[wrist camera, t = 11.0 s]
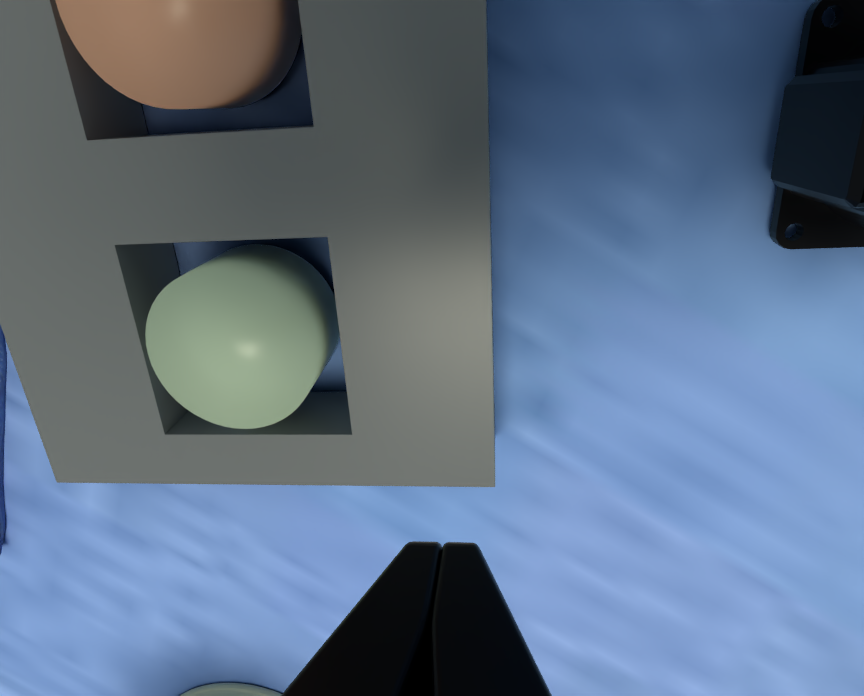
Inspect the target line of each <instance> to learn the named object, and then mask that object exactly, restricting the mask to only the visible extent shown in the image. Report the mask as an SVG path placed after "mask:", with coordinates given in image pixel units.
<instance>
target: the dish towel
mask: <svg viewBox="0 0 864 696" xmlns="http://www.w3.org/2000/svg"><path fill="white" fill-rule="evenodd" d="M6 373H7V352H6V344H5V336H4V333H3V330H2V328H1V325H0V554H1V551H2V544H3V538H4V532H5V504H4V489H3V457H4V433H5V396H6Z"/></svg>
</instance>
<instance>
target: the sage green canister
mask: <svg viewBox="0 0 864 696" xmlns="http://www.w3.org/2000/svg"><path fill="white" fill-rule="evenodd" d="M281 695H282V694H280V693H278V692H275V691H273V690H270V689H266V688H263V687H259V686H255V685H249V684H242V683H216V684H209V685H204V686H200V687H197V688H194V689H191V690H189V691H187V692H185V693H184V694H182V695H180V696H281Z"/></svg>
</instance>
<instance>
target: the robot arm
mask: <svg viewBox="0 0 864 696" xmlns="http://www.w3.org/2000/svg"><path fill="white" fill-rule="evenodd" d="M828 7H829V8H832V9H833V11H834V12H835V19H834V21H833V24H831V25H830V26H829V27H825V26H824V24H823V23H822V15H823V13H824V11H825V10H826V9H827V8H828ZM771 179H772V180H773V182H774V183H775V184H776V185H777V190H776V196H775V202H774V208H773V215H772V221H771V227H770V237H771V238H772V240H773V242H775V243H776V244H778V245H779V246H781V247H783V248H787V249H810V248H841V247H864V0H817V1H816V2H815V3H813V4H812V5H811V7H810V8H809V9H808V11H807V13H806V16H805V18H804V23H803V29H802V35H801V42H800V48H799V54H798V60H797V66H796V72H795V77H794V78H793V79H792V80H791V81H790V82H789V83H788V84H787V85H786V87H785V90H784V96H783V102H782V109H781V115H780V121H779V128H778V134H777V141H776V147H775V153H774V160H773V166H772V172H771ZM794 223H796V224H797V230H796V233H795V234H794V235H793V236H791V237H789V238H786V237H785V231H786V228H787V227H788V226H790V225H791V224H794ZM281 696H552V695H551V693H550V691H549V689H548V687H547V685H546V683H545V681H544V679H543V677H542V675H541V673H540V671H539V669H538V667H537V665H536V663H535V661H534V659H533V656H532V654H531V652H530V650H529V648H528V646H527V644H526V642H525V640H524V638H523V636H522V634H521V632H520V630H519V628H518V626H517V624H516V622H515V620H514V618H513V616H512V613H511V611H510V609H509V607H508V605H507V603H506V601H505V599H504V597H503V595H502V593H501V591H500V589H499V587H498V585H497V583H496V581H495V579H494V577H493V575H492V573H491V570H490V568H489V566H488V564H487V562H486V560H485V558H484V556H483V554H482V552H481V550H480V548H479V547H478V545H477V544H475V543H461V542H448V543H446V544H444V546H443V547H442V546H441V544H440V543H438V542H409V543H407V544H406V545H405V546H404V547H403V548H402V550H401V551H400V552H399V553H398V555H397V556H396V557H395V558H394V559H393V561H392V562H391V563H390V564H389V565H388V567H387V568H386V569H385V570H384V572H383V573H382V574H381V575H380V576H379V578H378V579H377V580H376V581H375V582H374V584H373V585H372V586H371V587H370V588H369V590H368V591H367V592H366V593H365V595H364V596H363V597H362V598H361V599H360V601H359V602H358V603H357V604H356V605H355V607H354V608H353V609H352V610H351V612H350V613H349V614H348V615H347V616H346V618H345V619H344V620H343V621H342V622H341V624H340V625H339V626H338V627H337V628H336V630H335V631H334V632H333V633H332V635H331V636H330V637H329V638H328V639H327V641H326V642H325V643H324V644H323V645H322V647H321V648H320V649H319V650H318V652H317V653H316V654H315V655H314V656H313V658H312V659H311V660H310V661H309V662H308V664H307V665H306V666H305V667H304V668H303V670H302V671H301V672H300V673H299V675H298V676H297V677H296V678H295V679H294V681H293V682H292V683H291V684H290V685H289V687H288V688H287V689H286V690H285V692H284V693H283V694H282V695H281Z"/></svg>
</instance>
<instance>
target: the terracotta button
mask: <svg viewBox="0 0 864 696" xmlns="http://www.w3.org/2000/svg"><path fill="white" fill-rule="evenodd" d="M55 1H56V4H57V8H58V11H59V14H60V17H61V19H62V22H63V24H64V26H65V29H66V31H67V33H68V35H69V36H70V38H71V40H72V42H73V44H74V45H75V47H76V48H77V50H78V51H79V53H80V54H81V56H82V57H83V59H84V60H85V61H86V62H87V63H88V65H89V66H90V67H91V68H92V69H93V70H94V71H95V72H96V73H97V74H98V75H99V76H100V77H101V78H102V79H103V80H104V81H105V82H106V83H108V84H109V85H110V86H112V87H113V88H114V89H116V90H117V91H119V92H120V93H122V94H124V95H125V96H127V97H129V98H131V99H133V100H135V101H138V102H140V103H142V104H146V105H149V106H152V107H157V108H164V109H218V108H236V107H242V106H245V105H249V104H252V103H254V102H256V101H258V100H260V99H262V98H263V97H265V96H266V95H268V94H269V93H270V92H271V91H273V90H274V89H275V88H276V87H277V86H278V85H279V84H280V82H281V81H282V80H283V79H284V77H285V76H286V74H287V73H288V71H289V69H290V68H291V66H292V63H293V61H294V59H295V56H296V54H297V50H298V47H299V43H300V37H301V31H302V29H301V21H300V13H299V5H298V0H55Z"/></svg>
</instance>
